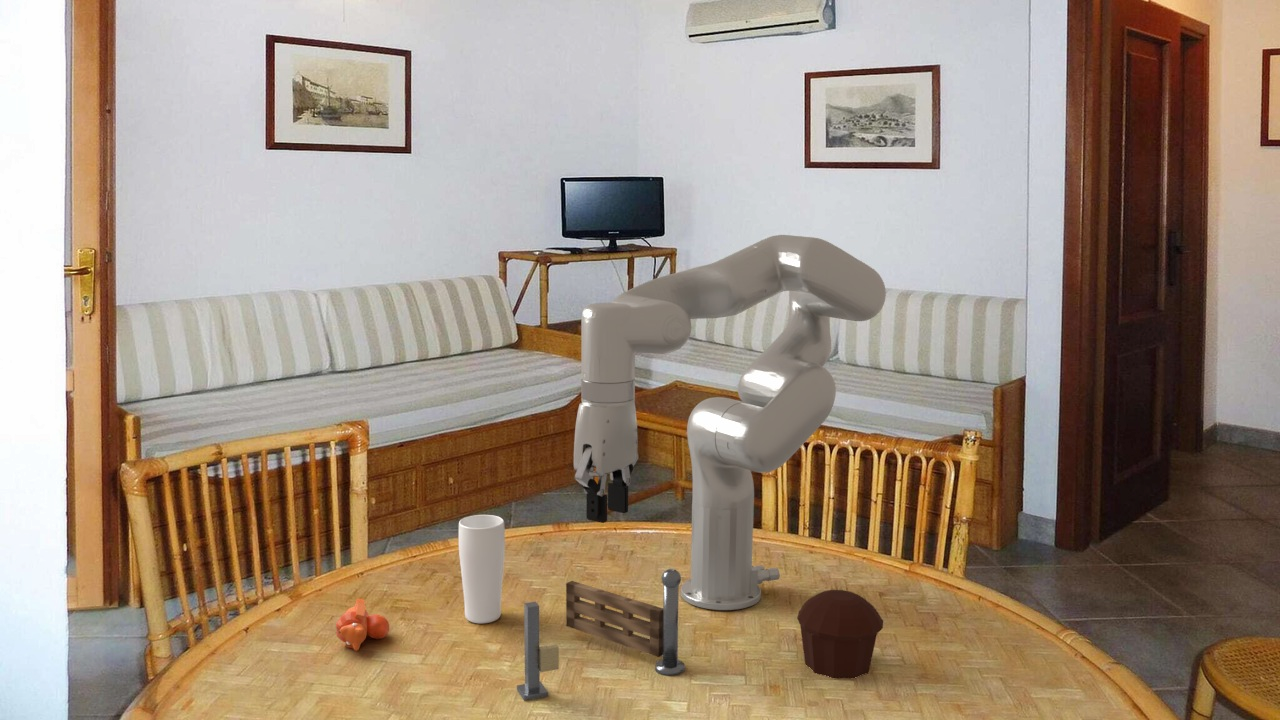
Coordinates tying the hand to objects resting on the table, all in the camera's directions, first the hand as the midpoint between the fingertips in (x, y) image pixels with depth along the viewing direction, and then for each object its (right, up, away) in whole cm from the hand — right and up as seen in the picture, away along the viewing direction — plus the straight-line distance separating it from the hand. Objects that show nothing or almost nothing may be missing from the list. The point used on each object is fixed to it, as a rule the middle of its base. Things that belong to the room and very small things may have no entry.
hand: (607, 514), depth 164 cm
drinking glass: (-19, -17, +7) cm, 26 cm away
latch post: (-9, -21, -17) cm, 28 cm away
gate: (+1, -17, -4) cm, 17 cm away
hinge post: (+9, -20, -10) cm, 23 cm away
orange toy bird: (-35, -18, -1) cm, 39 cm away
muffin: (+32, -20, -8) cm, 38 cm away
